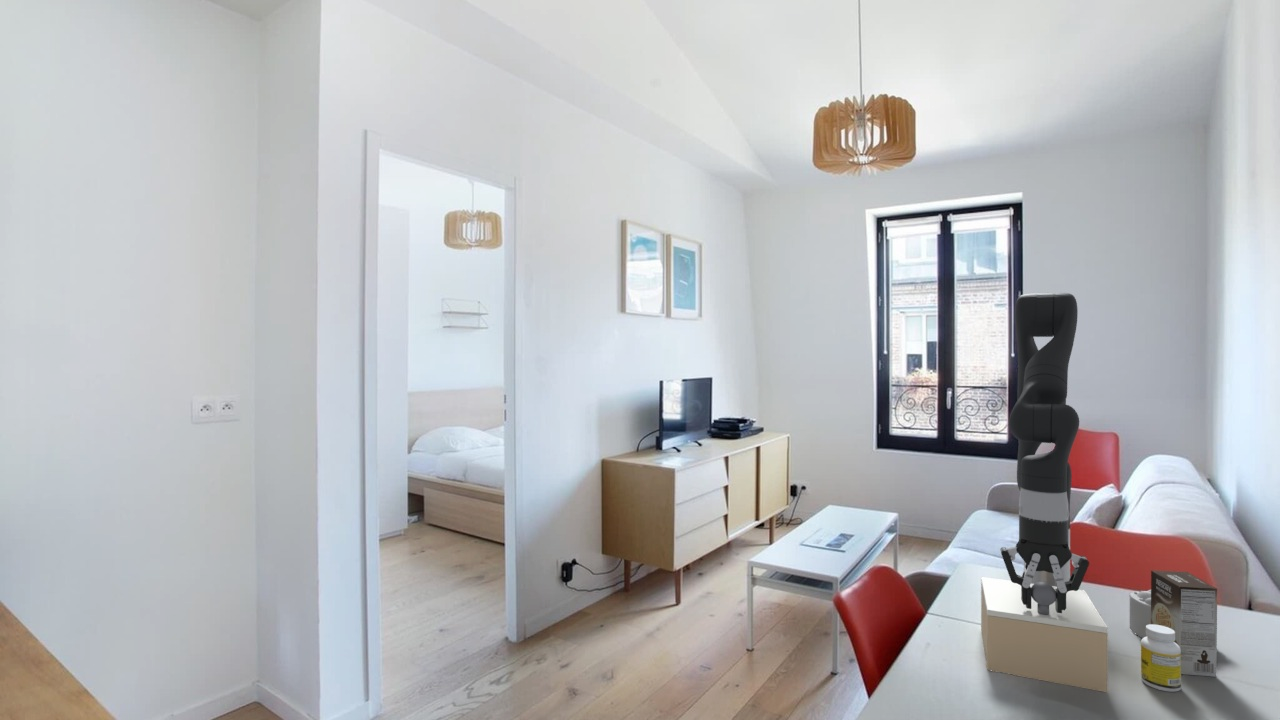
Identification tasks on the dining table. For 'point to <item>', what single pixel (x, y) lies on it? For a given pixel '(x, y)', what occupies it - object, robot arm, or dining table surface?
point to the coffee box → (1187, 618)
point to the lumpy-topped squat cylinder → (1140, 612)
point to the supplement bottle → (1160, 659)
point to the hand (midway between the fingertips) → (1043, 608)
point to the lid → (1041, 605)
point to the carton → (1045, 651)
